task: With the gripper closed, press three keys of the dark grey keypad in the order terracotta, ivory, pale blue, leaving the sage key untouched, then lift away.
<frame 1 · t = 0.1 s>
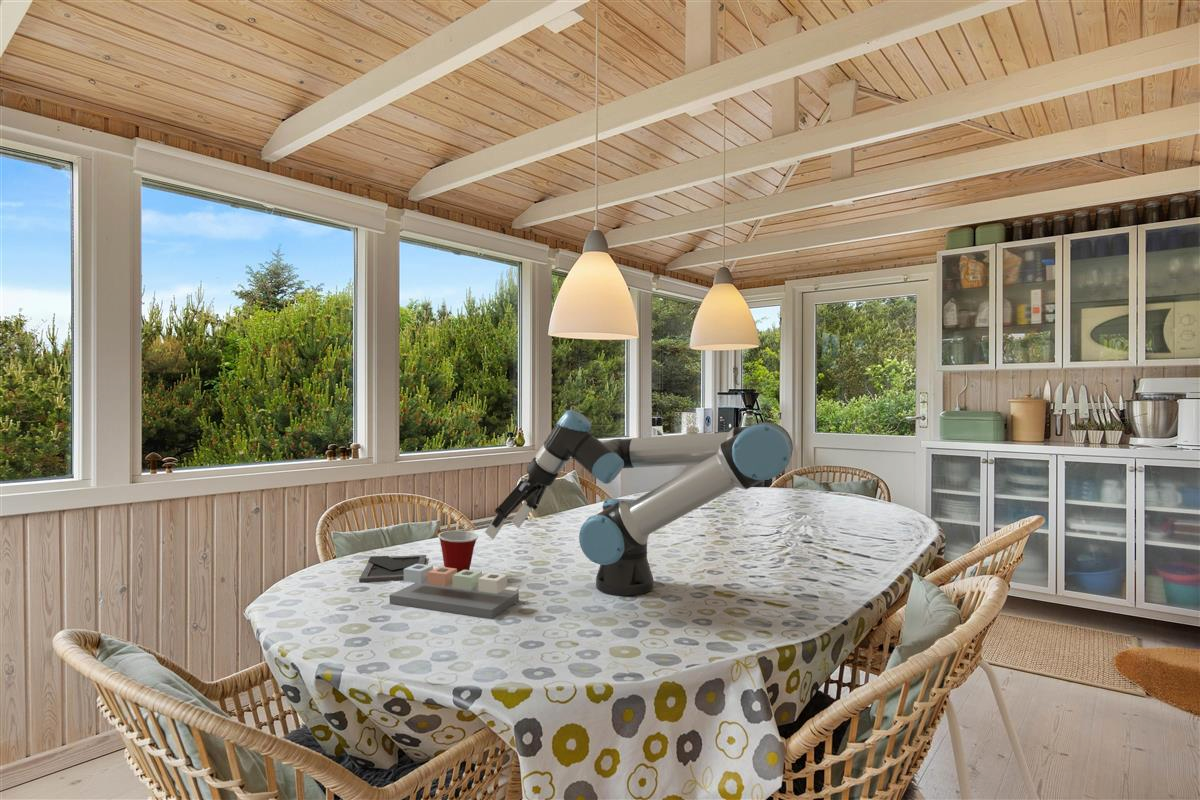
hand: (502, 529, 159), 15 cm above the table, tool tilted 35°, fingers open, 13 cm apart
key blue: (418, 573, 153), point 6 cm above the table, slide at 0.0 cm
keypad base: (454, 601, 150), on the table
plastic cup: (458, 578, 169), on the table
key ivory: (492, 582, 146), point 6 cm above the table, slide at 0.0 cm
key terracotta: (442, 576, 151), point 6 cm above the table, slide at 0.0 cm
key sage: (467, 579, 149), point 6 cm above the table, slide at 0.0 cm
picture frame: (394, 572, 176), on the table
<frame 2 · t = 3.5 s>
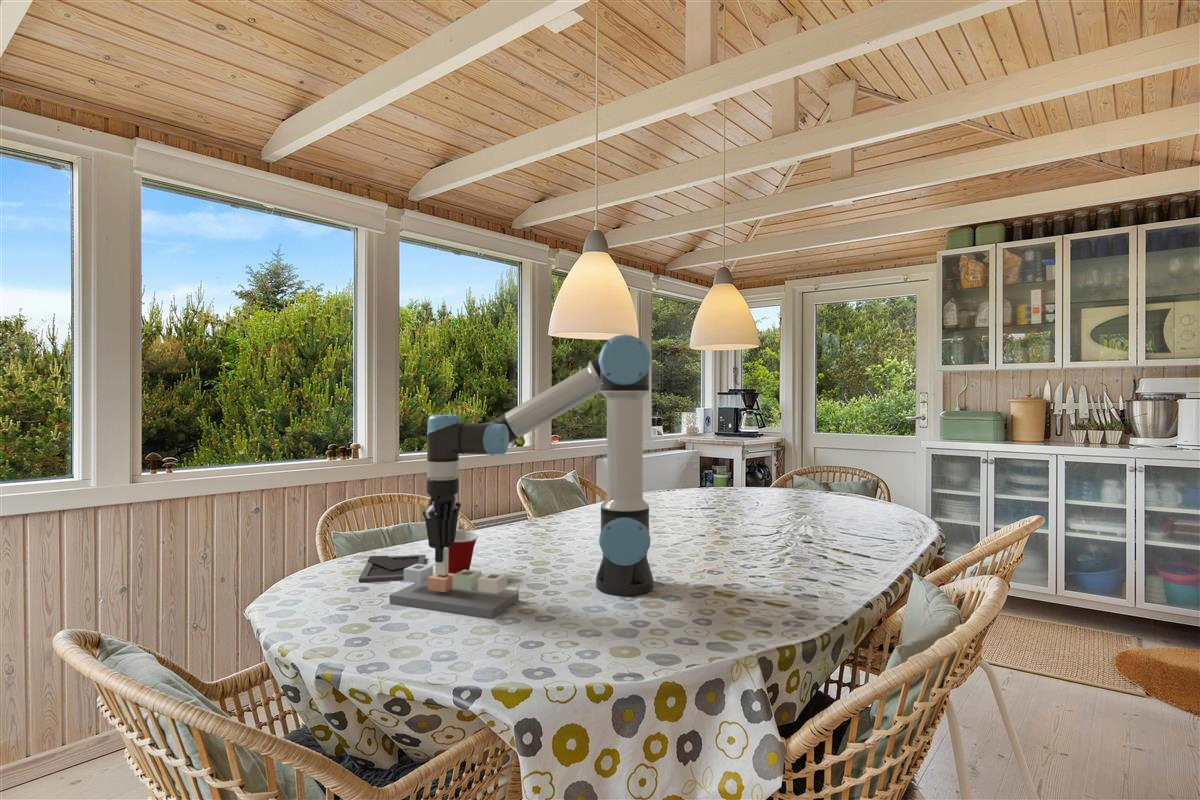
hand: (441, 574, 151), 6 cm above the table, tool pointing down, fingers closed
key terracotta: (442, 581, 151), point 5 cm above the table, slide at 1.3 cm, touching gripper
everything else where it was.
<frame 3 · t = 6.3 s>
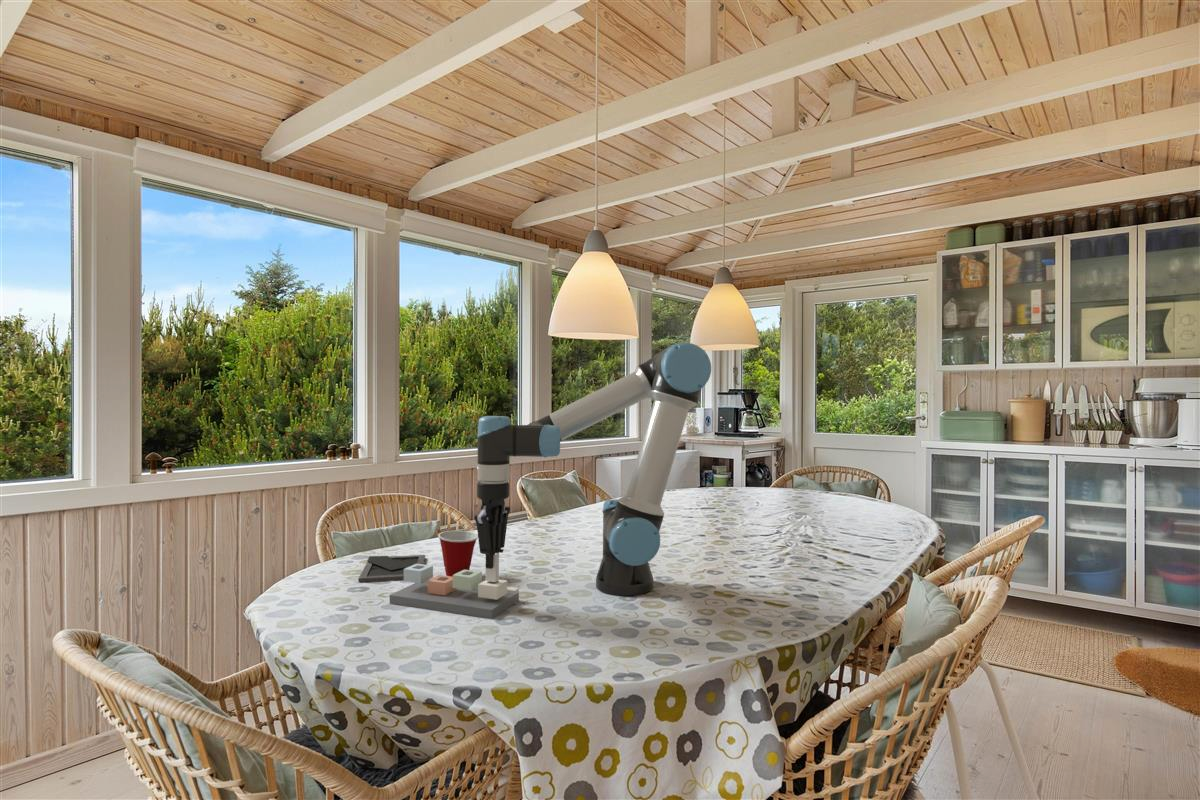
hand: (492, 580, 146), 6 cm above the table, tool pointing down, fingers closed
key ivory: (492, 588, 146), point 5 cm above the table, slide at 1.4 cm, touching gripper
key terracotta: (442, 584, 151), point 4 cm above the table, slide at 2.1 cm
everything else where it was.
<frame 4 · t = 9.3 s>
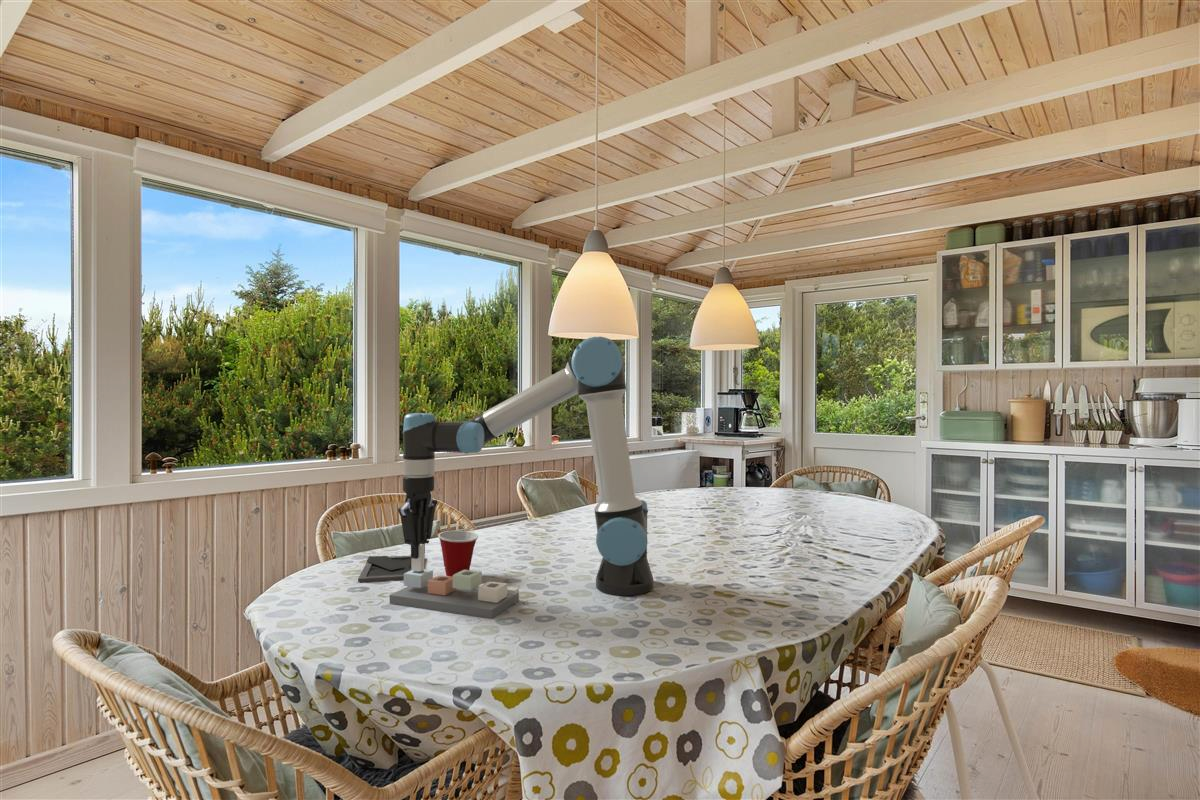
hand: (417, 570, 153), 7 cm above the table, tool pointing down, fingers closed
key blue: (418, 577, 153), point 5 cm above the table, slide at 1.1 cm, touching gripper
key ivory: (492, 591, 146), point 4 cm above the table, slide at 2.1 cm
everything else where it was.
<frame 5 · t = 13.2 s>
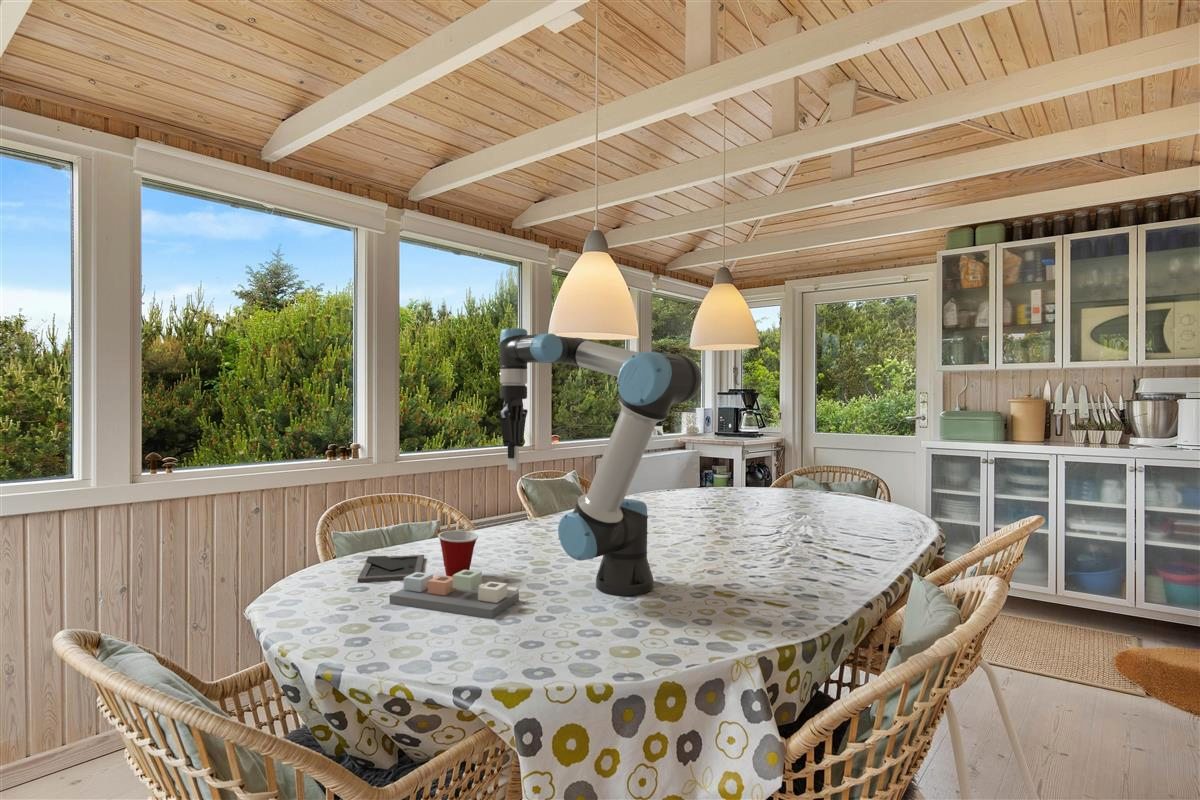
hand: (513, 469, 171), 29 cm above the table, tool pointing down, fingers closed
key blue: (418, 581, 153), point 4 cm above the table, slide at 2.1 cm
everything else where it was.
at the end: key terracotta slide at 2.1 cm; key blue slide at 2.1 cm; key sage slide at 0.0 cm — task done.
